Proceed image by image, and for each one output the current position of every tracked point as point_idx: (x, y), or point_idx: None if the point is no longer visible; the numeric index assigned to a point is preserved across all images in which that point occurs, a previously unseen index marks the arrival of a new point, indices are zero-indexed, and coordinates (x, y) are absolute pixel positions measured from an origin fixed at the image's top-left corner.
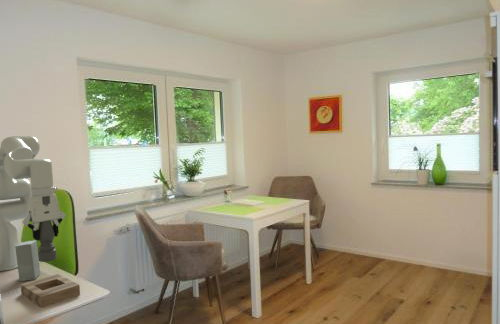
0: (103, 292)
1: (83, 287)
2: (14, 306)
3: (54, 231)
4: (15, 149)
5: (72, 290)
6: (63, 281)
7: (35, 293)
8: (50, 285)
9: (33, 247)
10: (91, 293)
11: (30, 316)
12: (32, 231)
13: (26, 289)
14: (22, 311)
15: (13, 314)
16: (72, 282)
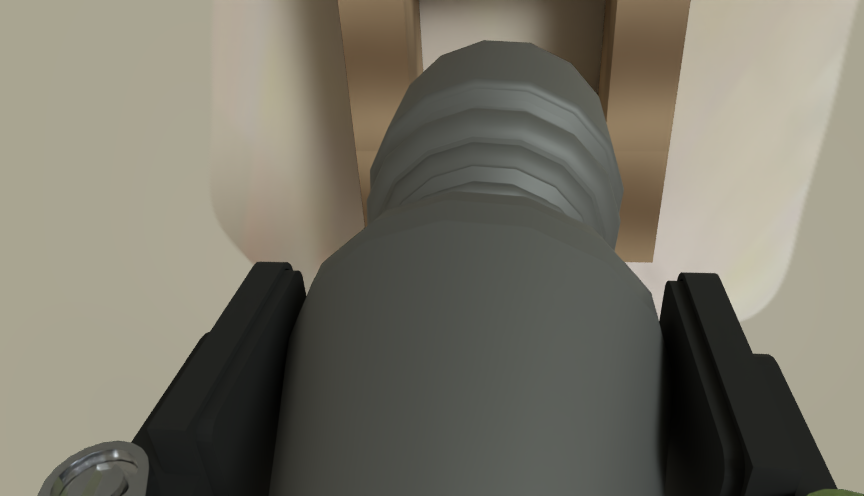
0: (750, 309)
1: (748, 109)
2: (254, 45)
3: (670, 454)
4: None
5: None
6: (620, 86)
7: (358, 164)
8: None
9: None
10: (697, 263)
11: (306, 276)
12: (138, 434)
13: None
14: (283, 176)
15: (235, 175)
16: (649, 178)
